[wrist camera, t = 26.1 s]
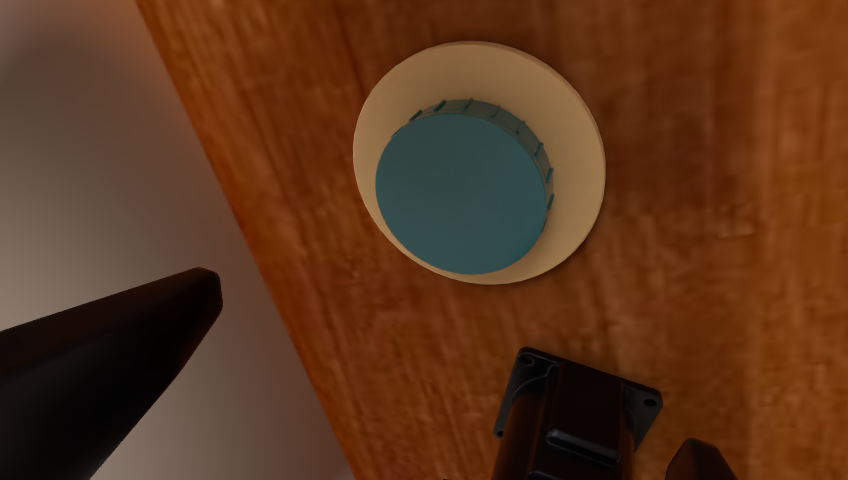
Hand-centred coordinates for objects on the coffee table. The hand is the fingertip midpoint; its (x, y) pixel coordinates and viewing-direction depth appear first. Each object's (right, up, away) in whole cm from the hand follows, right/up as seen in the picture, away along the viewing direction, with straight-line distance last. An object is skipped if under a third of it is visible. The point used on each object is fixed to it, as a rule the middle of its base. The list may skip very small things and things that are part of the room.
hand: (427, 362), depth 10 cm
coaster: (+2, +5, +11) cm, 12 cm away
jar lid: (+1, +4, +10) cm, 11 cm away
